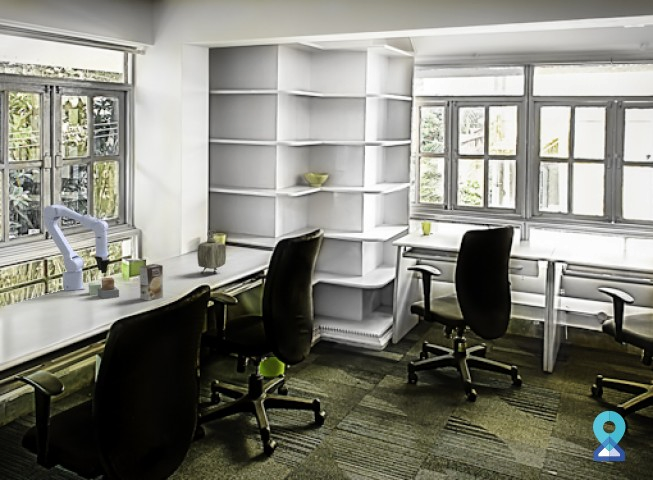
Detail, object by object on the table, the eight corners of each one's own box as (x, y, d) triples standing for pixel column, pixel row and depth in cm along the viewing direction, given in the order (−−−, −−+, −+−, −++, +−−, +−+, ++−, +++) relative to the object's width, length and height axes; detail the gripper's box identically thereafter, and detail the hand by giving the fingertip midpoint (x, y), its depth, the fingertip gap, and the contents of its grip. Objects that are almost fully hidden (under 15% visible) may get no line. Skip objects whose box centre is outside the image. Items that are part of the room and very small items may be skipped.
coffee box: (149, 301, 346) (148, 268, 343) (140, 298, 349) (139, 266, 346) (163, 297, 353) (162, 265, 350) (154, 295, 357) (153, 263, 354)
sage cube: (90, 295, 354) (90, 285, 354) (88, 292, 359) (88, 283, 358) (101, 294, 357) (100, 284, 356) (99, 292, 361) (98, 282, 360)
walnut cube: (103, 290, 349) (103, 280, 348) (101, 288, 354) (101, 278, 353) (114, 289, 351) (114, 279, 351) (112, 287, 356) (111, 277, 355)
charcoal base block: (102, 299, 348) (102, 291, 347) (97, 296, 354) (97, 288, 354) (119, 297, 352) (118, 289, 351) (114, 294, 359) (113, 286, 358)
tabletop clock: (215, 270, 415) (215, 227, 411) (227, 272, 410) (227, 229, 406) (197, 274, 404) (197, 230, 399) (209, 276, 399) (208, 232, 394)
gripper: (112, 246, 357) (113, 273, 359) (106, 242, 369) (107, 268, 372) (98, 247, 354) (99, 275, 356) (92, 242, 366) (93, 269, 368)
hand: (102, 271), depth 364 cm, fingers open, 7 cm apart
